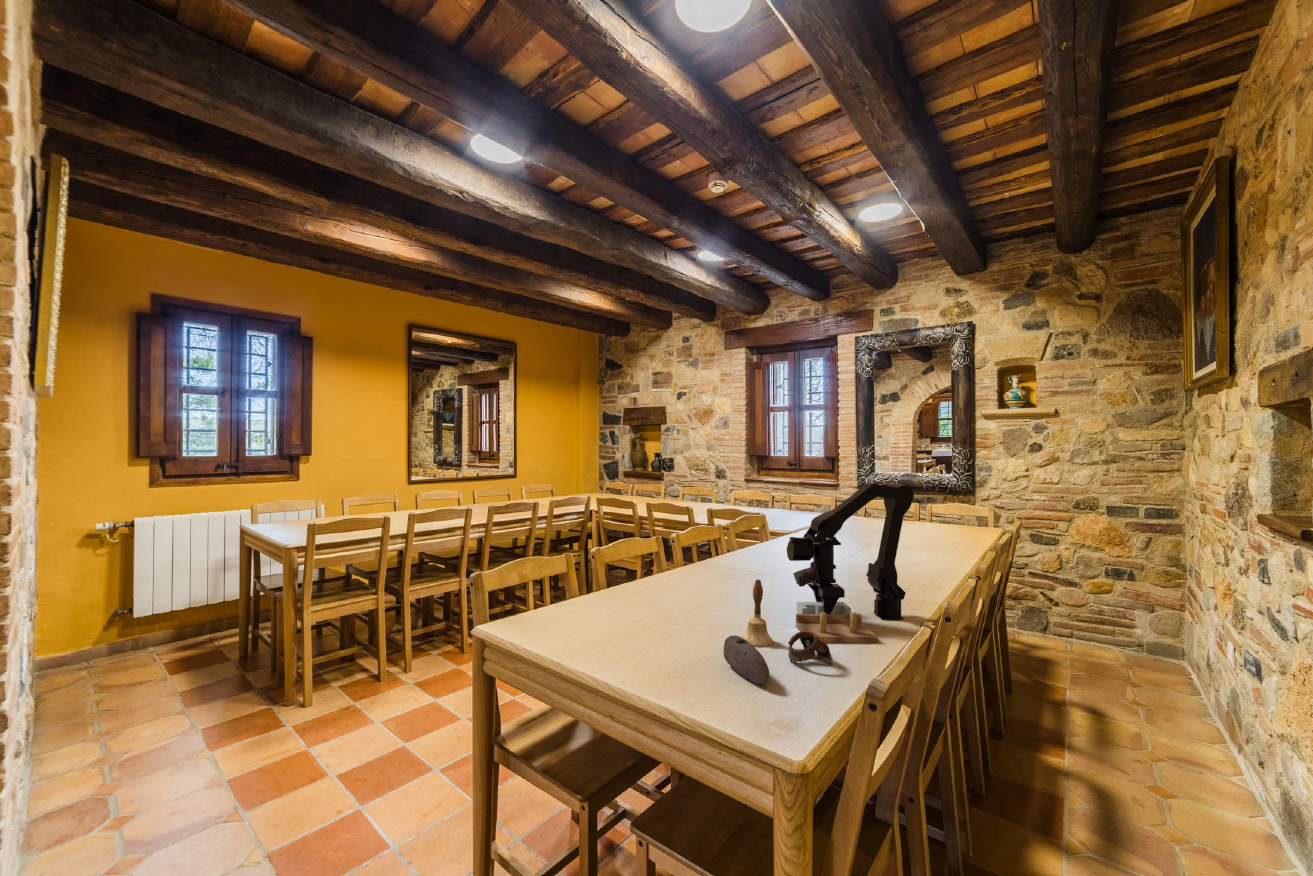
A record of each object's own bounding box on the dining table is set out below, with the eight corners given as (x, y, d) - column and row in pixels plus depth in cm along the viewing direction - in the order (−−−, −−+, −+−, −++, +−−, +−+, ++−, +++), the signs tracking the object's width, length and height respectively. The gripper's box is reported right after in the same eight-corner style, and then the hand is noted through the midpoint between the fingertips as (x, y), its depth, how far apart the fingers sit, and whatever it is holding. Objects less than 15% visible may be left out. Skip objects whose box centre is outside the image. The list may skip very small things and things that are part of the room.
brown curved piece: (840, 673, 121) (825, 644, 119) (801, 688, 122) (786, 660, 121) (827, 640, 132) (813, 614, 131) (791, 655, 134) (778, 628, 132)
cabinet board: (859, 626, 150) (859, 603, 150) (877, 642, 138) (877, 617, 138) (795, 626, 150) (795, 603, 150) (808, 642, 138) (808, 617, 138)
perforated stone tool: (777, 689, 112) (777, 656, 112) (755, 693, 110) (756, 659, 110) (741, 661, 126) (741, 632, 126) (721, 665, 124) (721, 635, 124)
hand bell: (776, 638, 141) (776, 577, 141) (769, 649, 133) (769, 585, 133) (745, 633, 144) (745, 574, 144) (736, 644, 137) (737, 581, 137)
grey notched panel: (843, 613, 160) (843, 602, 160) (850, 620, 154) (850, 608, 154) (796, 613, 160) (796, 602, 160) (802, 620, 154) (802, 608, 154)
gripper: (788, 553, 166) (788, 603, 166) (805, 567, 148) (805, 624, 148) (823, 553, 166) (823, 603, 166) (845, 567, 148) (845, 624, 148)
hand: (823, 613), depth 157 cm, fingers closed on grey notched panel, 6 cm apart
